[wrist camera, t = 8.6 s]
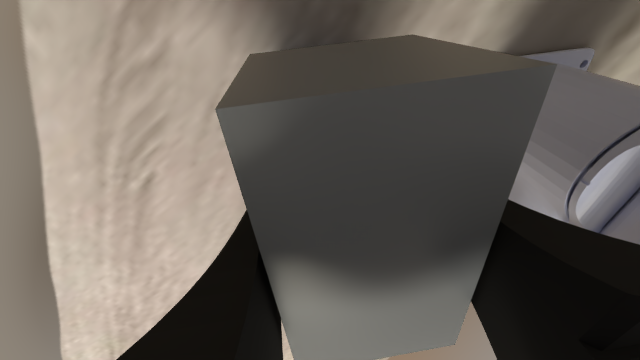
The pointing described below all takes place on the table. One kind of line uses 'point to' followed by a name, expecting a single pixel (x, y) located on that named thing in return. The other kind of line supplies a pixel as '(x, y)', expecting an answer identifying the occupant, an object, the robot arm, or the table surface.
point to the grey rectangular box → (378, 183)
